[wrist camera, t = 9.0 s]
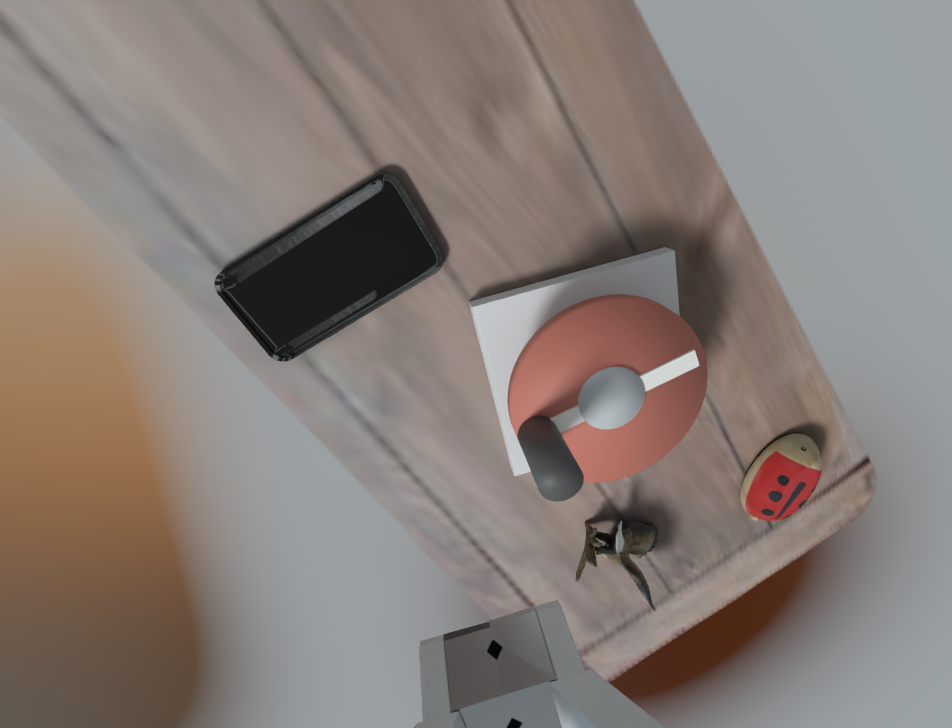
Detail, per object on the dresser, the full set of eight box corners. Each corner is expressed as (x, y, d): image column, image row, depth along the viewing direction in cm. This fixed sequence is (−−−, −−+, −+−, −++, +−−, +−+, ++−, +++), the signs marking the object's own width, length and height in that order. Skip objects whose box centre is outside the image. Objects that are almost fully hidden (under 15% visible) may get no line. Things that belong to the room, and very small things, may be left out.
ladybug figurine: (823, 437, 52) (852, 457, 49) (772, 516, 55) (796, 540, 52) (769, 422, 50) (796, 442, 47) (720, 505, 53) (741, 529, 50)
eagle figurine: (558, 572, 52) (637, 604, 53) (588, 588, 45) (679, 624, 46) (582, 498, 54) (658, 530, 55) (615, 502, 47) (701, 539, 48)
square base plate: (468, 301, 41) (477, 320, 36) (665, 246, 41) (695, 259, 37) (511, 466, 47) (522, 497, 43) (679, 417, 48) (706, 443, 44)
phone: (207, 281, 36) (391, 166, 35) (212, 276, 37) (391, 165, 36) (279, 368, 40) (450, 266, 38) (282, 362, 41) (448, 262, 40)
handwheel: (667, 256, 36) (730, 284, 30) (716, 421, 43) (778, 474, 36) (473, 352, 37) (491, 401, 30) (550, 500, 43) (579, 567, 37)
